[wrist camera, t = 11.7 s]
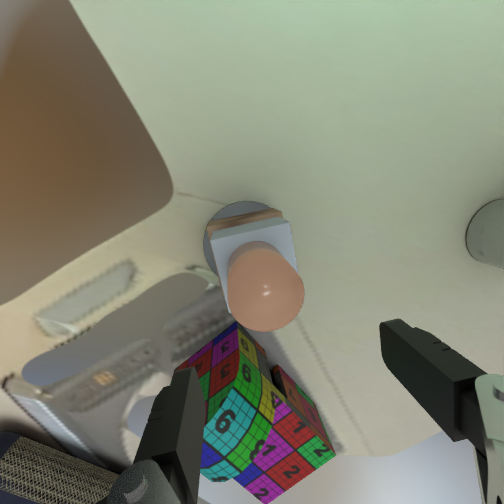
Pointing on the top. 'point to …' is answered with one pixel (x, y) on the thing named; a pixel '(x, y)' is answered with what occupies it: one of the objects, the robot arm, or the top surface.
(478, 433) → the robot arm
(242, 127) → the top surface
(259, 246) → the peach rounded cylinder
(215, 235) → the grey-blue top block
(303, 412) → the numbered checker block
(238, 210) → the slate coaster
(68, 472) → the portable speaker
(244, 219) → the walnut base block
